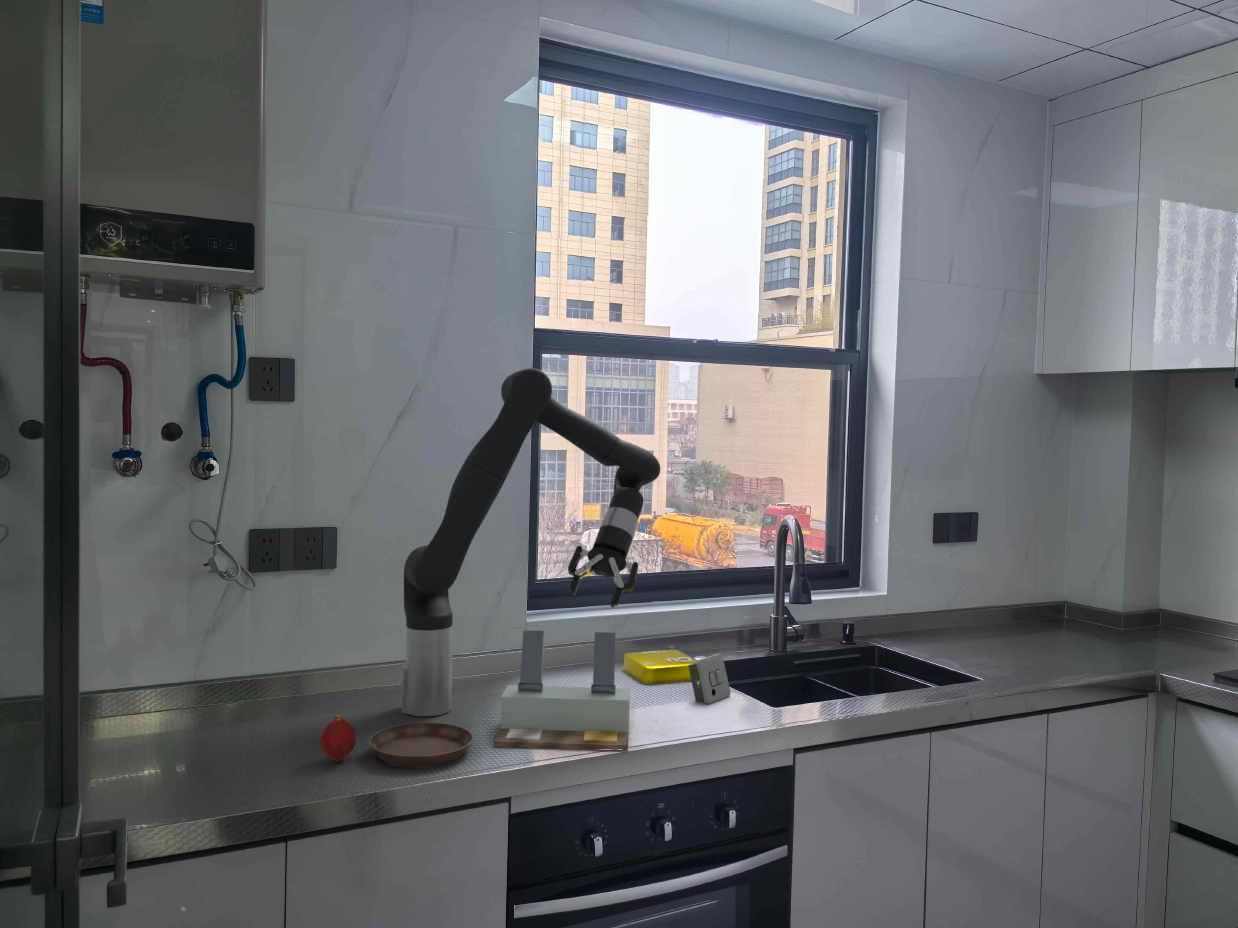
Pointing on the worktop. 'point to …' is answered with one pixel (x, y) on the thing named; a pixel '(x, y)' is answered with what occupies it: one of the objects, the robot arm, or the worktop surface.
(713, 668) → the electrical switch
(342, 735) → the onion
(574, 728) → the block
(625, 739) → the brown rectangular board
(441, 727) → the plant saucer
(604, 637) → the right lever
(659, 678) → the element tile
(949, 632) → the worktop surface
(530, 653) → the left lever
